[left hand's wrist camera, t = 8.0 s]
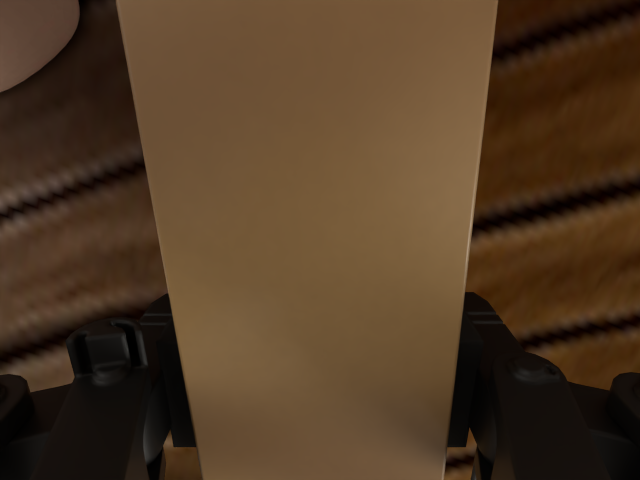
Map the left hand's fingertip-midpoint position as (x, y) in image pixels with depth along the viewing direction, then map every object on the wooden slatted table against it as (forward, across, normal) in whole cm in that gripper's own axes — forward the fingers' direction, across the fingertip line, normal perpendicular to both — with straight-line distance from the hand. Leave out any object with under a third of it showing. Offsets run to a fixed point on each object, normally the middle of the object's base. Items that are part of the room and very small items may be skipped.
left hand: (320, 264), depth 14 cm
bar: (+1, +1, -22) cm, 22 cm away
